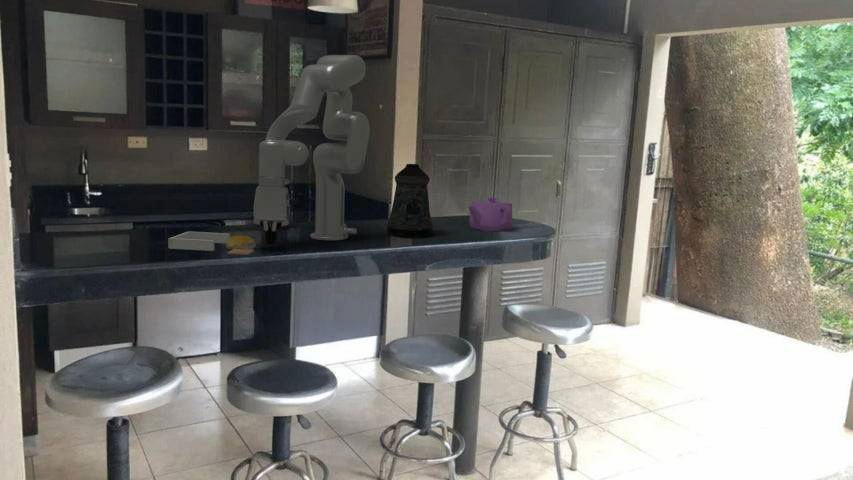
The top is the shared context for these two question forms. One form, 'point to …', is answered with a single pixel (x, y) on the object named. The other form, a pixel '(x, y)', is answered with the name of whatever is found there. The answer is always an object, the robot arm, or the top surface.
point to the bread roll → (240, 243)
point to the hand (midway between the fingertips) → (271, 243)
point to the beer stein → (410, 205)
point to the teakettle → (491, 215)
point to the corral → (197, 240)
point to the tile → (240, 251)
